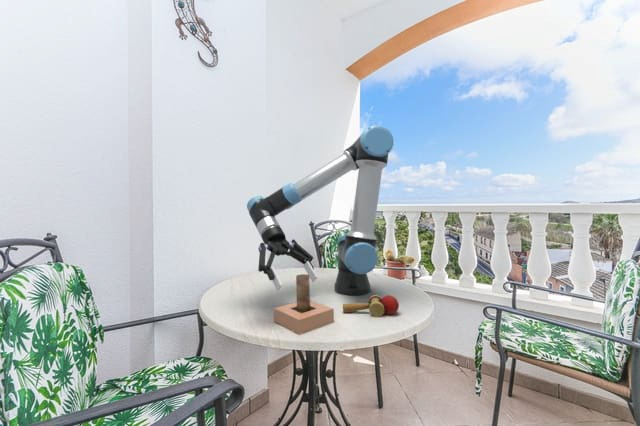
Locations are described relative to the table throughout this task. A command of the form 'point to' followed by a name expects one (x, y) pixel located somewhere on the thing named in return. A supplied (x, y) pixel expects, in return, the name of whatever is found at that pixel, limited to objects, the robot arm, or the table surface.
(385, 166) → the robot arm
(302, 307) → the peg
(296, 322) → the socket block
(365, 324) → the table surface
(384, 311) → the kendama
